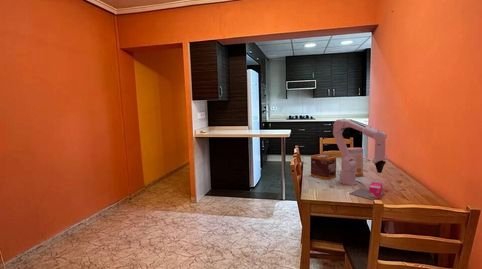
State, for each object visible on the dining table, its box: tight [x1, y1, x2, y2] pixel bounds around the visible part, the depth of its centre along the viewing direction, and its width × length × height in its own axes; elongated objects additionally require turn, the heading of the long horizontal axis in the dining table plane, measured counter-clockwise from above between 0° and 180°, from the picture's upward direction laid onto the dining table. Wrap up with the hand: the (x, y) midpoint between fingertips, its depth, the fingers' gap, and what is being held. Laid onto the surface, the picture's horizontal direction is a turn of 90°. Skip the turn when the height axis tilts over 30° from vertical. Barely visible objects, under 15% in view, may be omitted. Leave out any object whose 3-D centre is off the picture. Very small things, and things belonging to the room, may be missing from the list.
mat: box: [349, 188, 386, 201], centre depth 149 cm, size 14×14×1 cm
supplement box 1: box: [310, 153, 337, 181], centre depth 189 cm, size 10×15×16 cm
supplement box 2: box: [368, 181, 383, 199], centre depth 147 cm, size 6×6×12 cm
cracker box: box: [341, 147, 364, 177], centre depth 189 cm, size 14×6×21 cm, turn 84°
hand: (379, 172), depth 158 cm, fingers closed
